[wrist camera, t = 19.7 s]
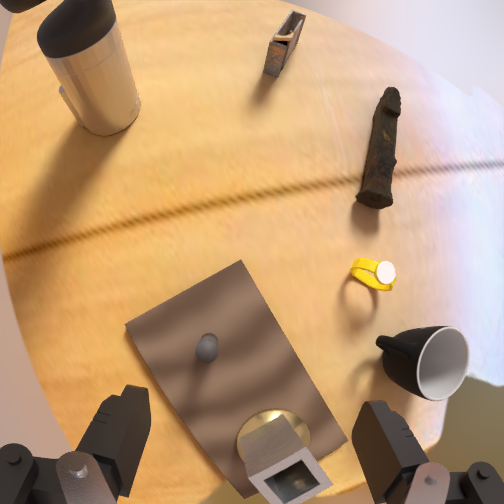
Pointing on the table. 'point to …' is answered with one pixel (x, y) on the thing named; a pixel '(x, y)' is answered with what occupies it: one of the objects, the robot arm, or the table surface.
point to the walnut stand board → (229, 368)
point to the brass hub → (267, 416)
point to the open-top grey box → (282, 464)
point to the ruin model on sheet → (276, 49)
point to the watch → (381, 271)
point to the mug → (426, 360)
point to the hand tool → (381, 153)
